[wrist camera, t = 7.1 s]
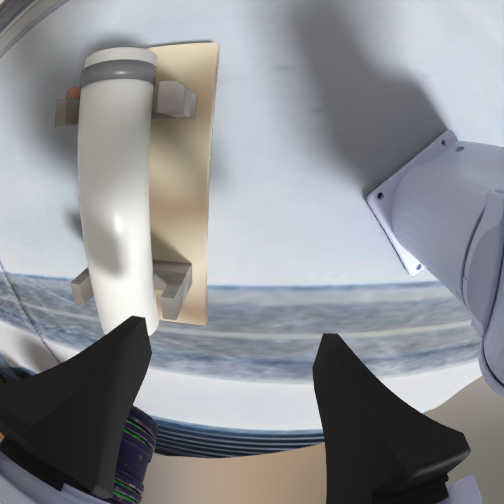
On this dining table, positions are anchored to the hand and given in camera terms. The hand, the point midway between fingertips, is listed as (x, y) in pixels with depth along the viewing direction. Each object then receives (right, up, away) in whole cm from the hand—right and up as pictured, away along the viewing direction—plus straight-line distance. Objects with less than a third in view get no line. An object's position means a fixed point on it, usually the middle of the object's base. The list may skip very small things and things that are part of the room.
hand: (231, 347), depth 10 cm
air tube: (-7, +6, +3) cm, 10 cm away
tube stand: (-7, +8, +7) cm, 13 cm away
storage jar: (-17, -19, +19) cm, 32 cm away
